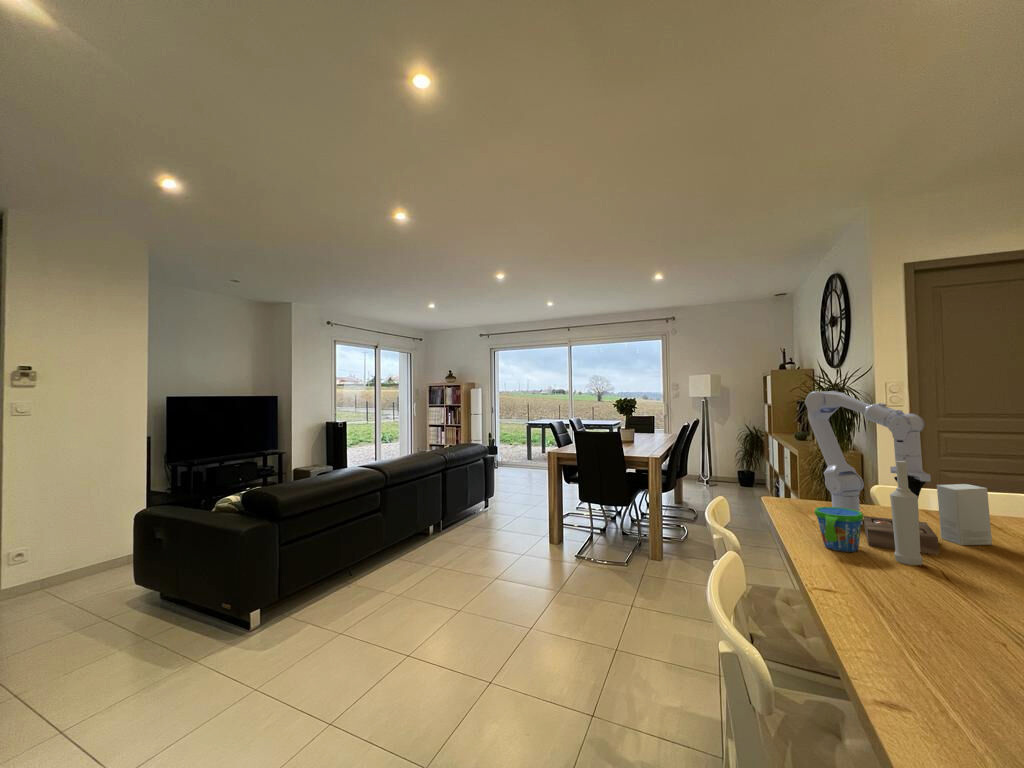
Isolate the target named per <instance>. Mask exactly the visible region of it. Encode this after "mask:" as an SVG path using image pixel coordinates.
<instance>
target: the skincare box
mask: <svg viewBox="0 0 1024 768" xmlns="http://www.w3.org/2000/svg"><path fill="white" fill-rule="evenodd" d="M936 489H937V490H936V493H937V503H938V504H937V505H938V515H939V518H938V519H939V527H940V538H941V539H942V540H945V541H947V542H951V543H954V544H957V545H959V546H981V545H982V546H987V545H989V546H990V545H991V546H992V545H993V540H992V539H993V537H992V529H991V518H990V515H991V514H990V507H989V506H990V504H989V503H990V502H989V493H988V492H989V491H988V489H989V488H987V487H982V486H980V485H979V486H978V485H973V484H967V483H956V484H955V483H953V484H936Z"/></svg>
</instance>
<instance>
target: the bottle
mask: <svg viewBox="0 0 1024 768" xmlns="http://www.w3.org/2000/svg"><path fill="white" fill-rule="evenodd" d="M895 467H896V469H897V474H896V477H897V481H896V483H897V482H898V483H897V487H896V489H895V490H894V491H892V492H891V493H890V494H889V497H890V498H889V499H890V507H891V509H890V510H891V517H892V518H891V519H892V520H893V530H894V540H895V549H894V550H895V551H894V559H895V561H896V562H898V563H900V564H903V565H906V564H907V565H908V566H913V565H920V566H922V565H923V556H922V555H921V554H922V553H920V533H919V522H920V517H919V515H920V514H919V498H918V496H916V495H915V494H914V493H912V492H911V491H910V489H909V488H908V477H907V462H905V461H896V463H895Z"/></svg>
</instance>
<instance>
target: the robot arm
mask: <svg viewBox="0 0 1024 768" xmlns="http://www.w3.org/2000/svg"><path fill="white" fill-rule="evenodd" d="M804 404H805V407H806V409H807V419H808V422H809V425H810V427H811V430H812V432H813V435H814V437H815V439H816V442H817V444H818V447H819V449H820V452H821V454H822V456H823V459H824V462H825V464H826V466H827V467H826V469H825V470H824V471H823V475H824V484H825V487H826V489H827V490H828V492H829V494H831V505H832V506H831V507H838V508H847V509H852V510H856V511H859V512H861V511H860V510H861V509H860V494H861V493H860V492H861V491H862V490H863V489H864V487H865V486H864V485H865V482H864V480H863V478H862V477H861V476H860V475H859V474H858V472H857V471H856V469H855V467H853V466H852V465H850V464H849V463H847V460H846V458H845V456H844V454H843V451H842V449H841V446H840V444H839V442H838V440H837V437H836V434H835V433H834V430H833V428H832V424H831V423H830V421H829V419H830V417H831V416H832V415H833V414H834V413H835V412H836V411H837V410H838V409H839V408H840V407H843V408H845V409H847V410H848V409H849V410H851V411H853V412H857V413H861V414H863V415H864V416H865V418H866V420H867V421H870V422H873V423H876V424H877V425H881V426H882V427H885V428H887V429H888V430H889V431H890V432H891V434H892V435H891V436H892V438H893V446H894V449H893V450H894V460H895V463H894V464H896V461H905V462H907V477H908V488H909V489H910V491H911V492H912V493H914V494H915V495H916V496H918V499H919V496H920V493H921V490H922V488H923V487H924V485H925V484H926V483H927V482H931V481H932V480H931V474H930V473H927V472H925V471H924V470H923V457H922V447H921V446H922V443H921V434H920V432H922V431H923V430H924V428H925V421H924V419H923V418H922V417H921V416H919V415H918V414H916V413H914V412H913V413H906V414H905V412H904V411H903V410H901V409H894V408H892V407H889V406H887V404H886V403H883V402H879V403H877V402H876V403H873V404H870V403H866V402H864V401H862V400H859V399H857V398H855V397H852V396H850V395H847V394H846V393H845V392H839V391H838V390H831V391H829V390H828V391H826V390H824V391H818V390H817V391H816V390H815V391H810V392H809V393H808V394H807V396H806V397H805V400H804ZM889 468H890V470H889V471H890V473H891V474H895V475H897V469H896V466H890V467H889ZM894 480H895V482H896V483H897V484H898V482H897V476H894ZM861 526H864V522H863V520H862V521H861Z"/></svg>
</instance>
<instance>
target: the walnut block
mask: <svg viewBox="0 0 1024 768" xmlns="http://www.w3.org/2000/svg"><path fill="white" fill-rule="evenodd" d="M874 520H882V521H888V522H891V524H892V525H890V524H881V523H873V521H874ZM863 529H864V530H865V531H864V530H863V531H864V534H865V537H867V538H866V541H867V544H868V546H870V547H875V546H877V547H878V548H883V547H886V548H885V549H890V548H894V549H893V550H895V540H894V530H893V520H892V518H888V517H887V518H886V517H877V516H867V515H863ZM919 530H922V531H924V533H920V552H922V553H921V554H927V553H928V555H935V556H936V555H937V556H940V548H939V547H940V546H939V545H940V544H939V537H938V536H937V534H936V533H935V532H934V531H933V530H932V528H931V526H930V525H929V524H928V523H927V522H926V521H925V522H924V521H919ZM877 547H876V548H877Z"/></svg>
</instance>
